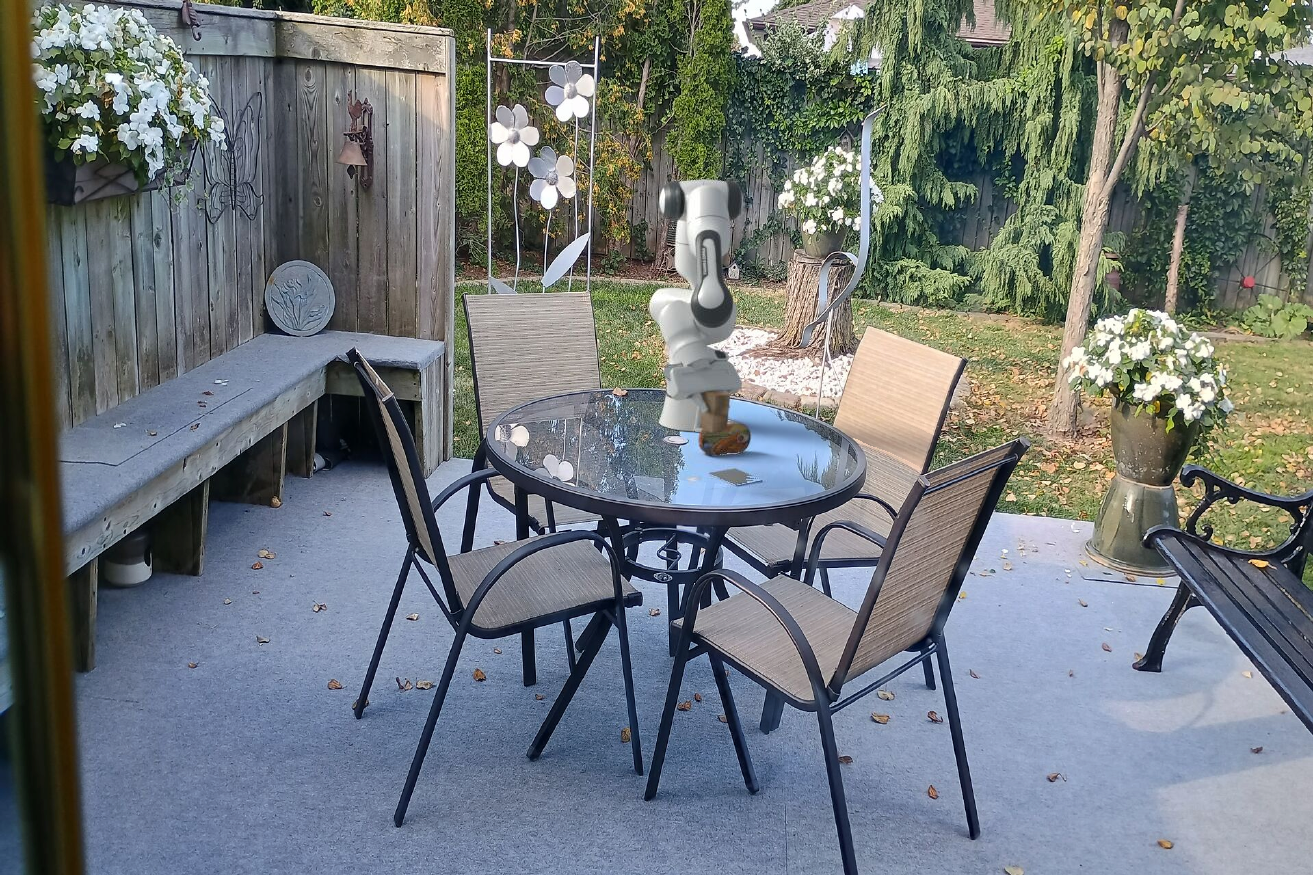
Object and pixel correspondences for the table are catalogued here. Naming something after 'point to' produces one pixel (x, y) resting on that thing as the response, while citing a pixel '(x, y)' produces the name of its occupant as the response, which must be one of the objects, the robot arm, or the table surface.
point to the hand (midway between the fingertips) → (716, 410)
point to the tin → (725, 440)
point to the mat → (733, 476)
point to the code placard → (693, 479)
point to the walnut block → (715, 411)
